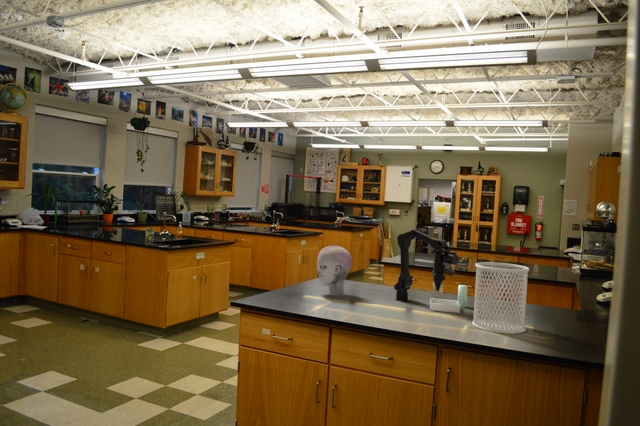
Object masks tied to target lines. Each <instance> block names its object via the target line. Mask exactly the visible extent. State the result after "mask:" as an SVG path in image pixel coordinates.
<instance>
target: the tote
mask: <svg viewBox="0 0 640 426" xmlns="http://www.w3.org/2000/svg"><path fill="white" fill-rule="evenodd" d="M429 309H430V310H429V311H432V312H433V311H434V312H445V313H453V312H454V313H456V314H460V313H461V312H460V311H461V307H460V304H459V302H458V299H457V300H456V299H455V300H453V299H443V298H433V297H430V298H429Z"/></svg>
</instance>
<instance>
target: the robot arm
mask: <svg viewBox="0 0 640 426" xmlns="http://www.w3.org/2000/svg"><path fill="white" fill-rule="evenodd" d="M414 239H418V240H419V241H422V242H424V243H426V244H428V245H429V246H430V247H431V248H432V249H433V250H432V251H431V252H430V253H431V254H434V255H433V269H432V271H431V272H432V273H431V275H432V280H433V282H434V283H435V286H436V289H437V291H439V289H440V285H441V282H442V283H443V281H445V280H446V276H445V275H448V276H450V277H451V278H452V277H454V275H455V273H456V271H455V270H454V269H453V267H451V266H448V267H446V265H445V264H447V265H454V266H455V265H457V264H458V263H459V262H458V261H459V257H458V255H457V252H456V251H451V249H450V247H449V246H448V242H447V241H446V240H445V239H441V238H437V237H432V236H431V235H429V234H428V233H427V234H426V233H424V232H422V231H420V230H418V229H411V230H409V231H407V232H404V233H399V234H398V235H397V237H396V241H397V245H398V248H399V250H400V251H399V254H400V255H399V256H400V273H399V276H398V278H397V282H396V283H395V284H394V285H393V289H394V290H395V291H396V293H395V294H396V296H395V300H396V301H404V302H407V301H408V300H409V292H408V290H410V289H411V287H412V286H413V283H414V281H413V280H414V277H413V275H411V274H410V256H409V255H410V254H409V252H410V250H409V249H410V247H411V245H412V240H414Z"/></svg>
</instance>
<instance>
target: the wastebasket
mask: <svg viewBox="0 0 640 426" xmlns="http://www.w3.org/2000/svg"><path fill="white" fill-rule="evenodd" d="M474 265H475V267H476V269H475V272H476V273H475V286H474V289H475V290H474V303H473V304H474V305H473V307H474V308H473V320H472V322H471V323H472V325H473V326H474V327H475V328H477V329H481V330H483V331H487V332H489V333H490V332H492V333H498V334H506V335H507V334H508V335H512V334H513V335H517V334H522V333H525V332H526V331H527V330H526V327H525V326H526V323H525V322H526V308H527V307H526V306H527V294H528V293H527V291H528V277H529V276H528V275H529V273H528V272H530V267H527V266H525V265H520V264H514V263H506V262H495V261H493V262H491V261H483V262H482V261H480V262H476V263H475V264H474ZM506 290H507V291H506ZM509 299H510V300H509ZM499 303H500V304H499ZM501 307H502V308H501ZM505 308H506V309H505ZM508 317H509V318H508Z"/></svg>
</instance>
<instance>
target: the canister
mask: <svg viewBox="0 0 640 426" xmlns="http://www.w3.org/2000/svg"><path fill="white" fill-rule="evenodd" d="M457 285H458V284H457ZM467 299H468V285H465V284H459V285H458V287H457V301H458V302H459V304H460V308H467Z"/></svg>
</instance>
